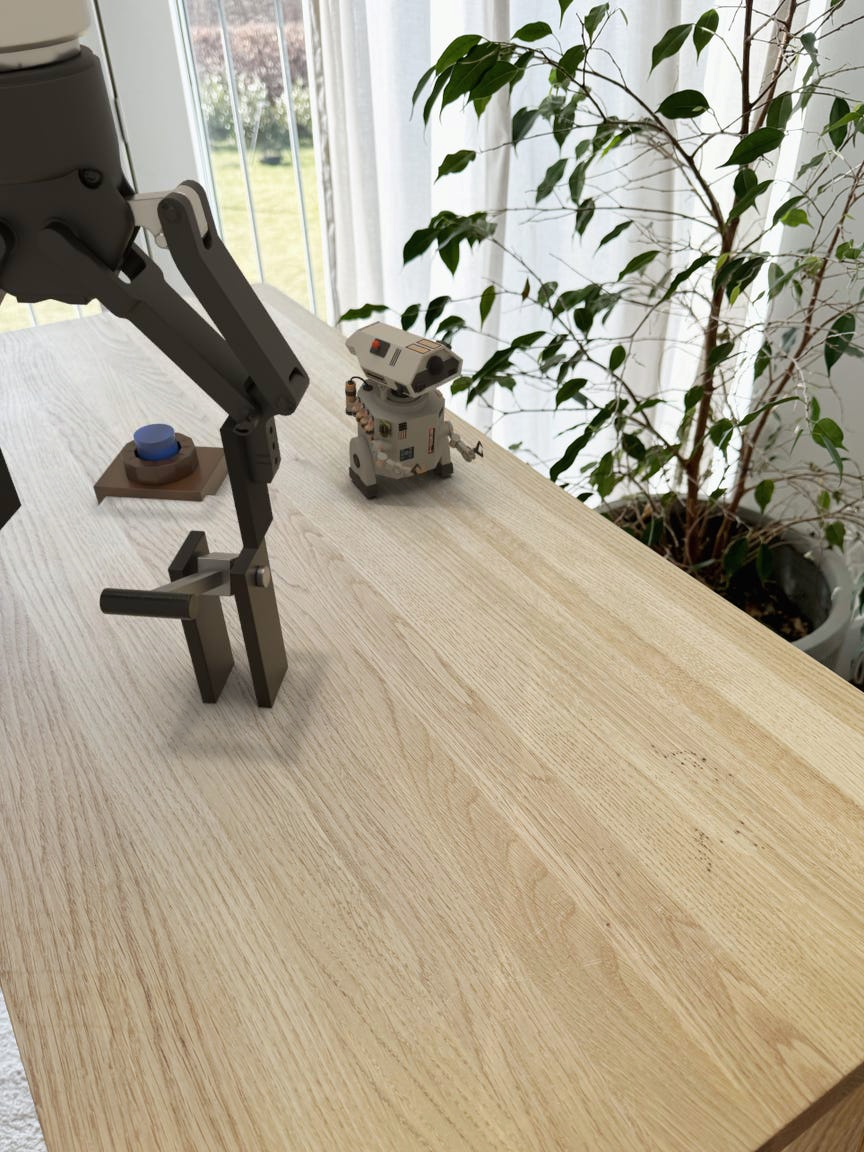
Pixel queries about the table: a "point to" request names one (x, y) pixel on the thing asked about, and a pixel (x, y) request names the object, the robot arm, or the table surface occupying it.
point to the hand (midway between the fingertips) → (129, 527)
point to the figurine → (400, 406)
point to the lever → (174, 592)
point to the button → (155, 442)
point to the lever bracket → (255, 618)
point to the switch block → (165, 474)
